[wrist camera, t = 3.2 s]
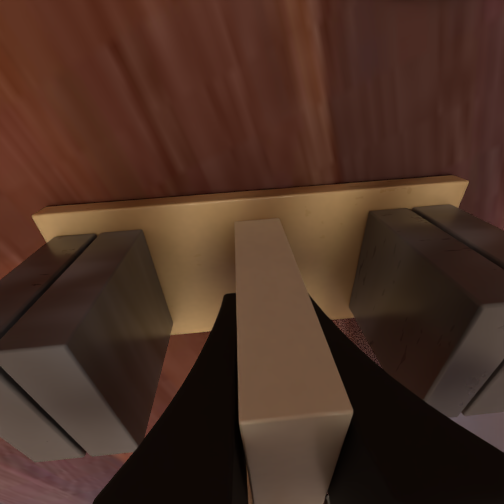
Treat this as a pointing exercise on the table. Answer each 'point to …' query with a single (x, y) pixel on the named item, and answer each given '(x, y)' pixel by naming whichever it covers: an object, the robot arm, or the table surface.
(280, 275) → the cream rectangular block
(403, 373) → the wooden rack
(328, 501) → the beverage can
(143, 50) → the table surface
